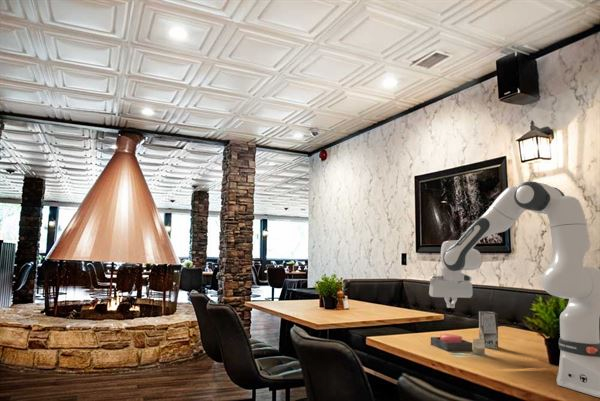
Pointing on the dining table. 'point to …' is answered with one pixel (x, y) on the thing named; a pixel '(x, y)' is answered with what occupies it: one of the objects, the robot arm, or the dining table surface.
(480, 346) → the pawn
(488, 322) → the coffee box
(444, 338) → the dome
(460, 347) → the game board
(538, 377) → the dining table surface
